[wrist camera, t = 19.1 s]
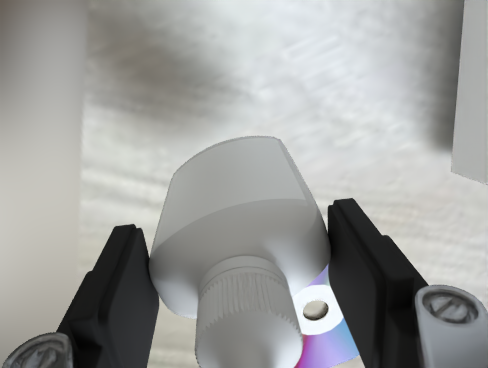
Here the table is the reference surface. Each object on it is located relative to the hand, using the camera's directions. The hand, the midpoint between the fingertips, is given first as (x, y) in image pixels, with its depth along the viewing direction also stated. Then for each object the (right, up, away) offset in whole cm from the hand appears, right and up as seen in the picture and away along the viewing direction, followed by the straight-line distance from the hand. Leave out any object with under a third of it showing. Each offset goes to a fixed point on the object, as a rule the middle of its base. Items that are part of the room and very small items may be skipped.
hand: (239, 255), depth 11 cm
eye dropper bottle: (0, +3, +7) cm, 7 cm away
